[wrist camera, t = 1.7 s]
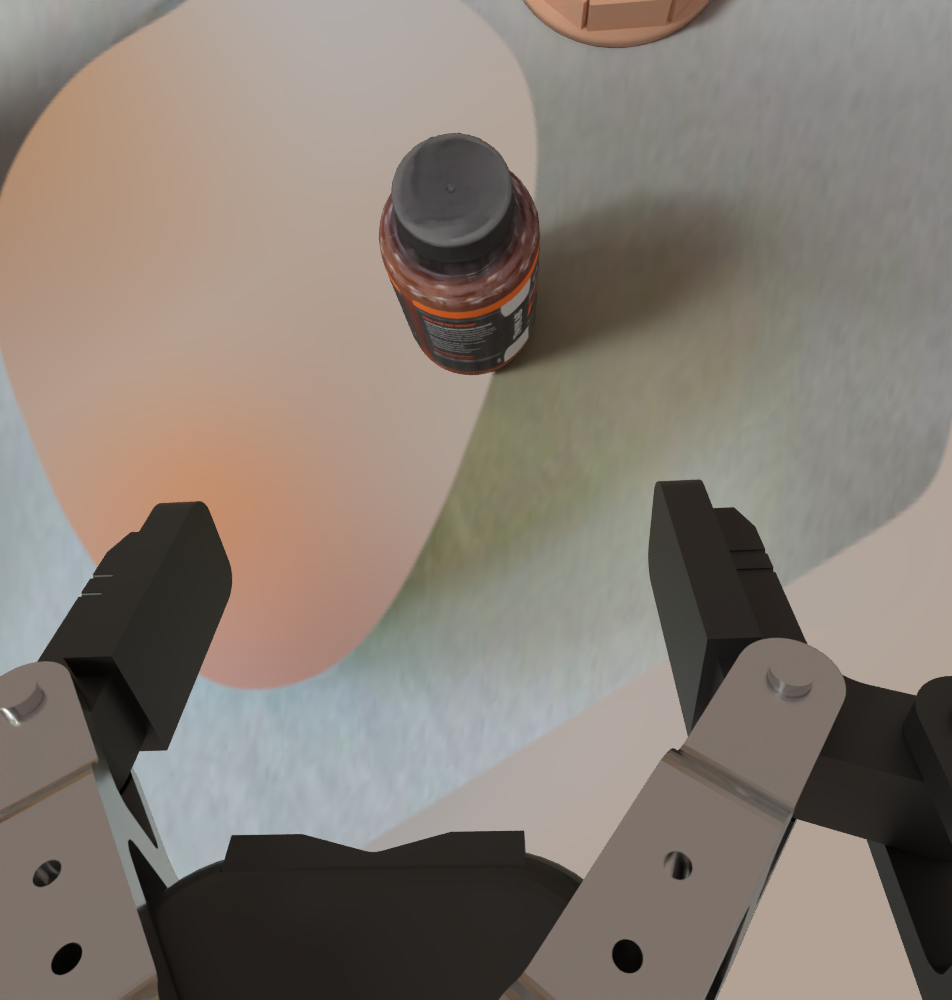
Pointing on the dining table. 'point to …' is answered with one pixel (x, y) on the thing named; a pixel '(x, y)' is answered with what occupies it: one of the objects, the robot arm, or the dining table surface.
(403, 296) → the supplement bottle
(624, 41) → the coaster dish
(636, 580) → the dining table surface
